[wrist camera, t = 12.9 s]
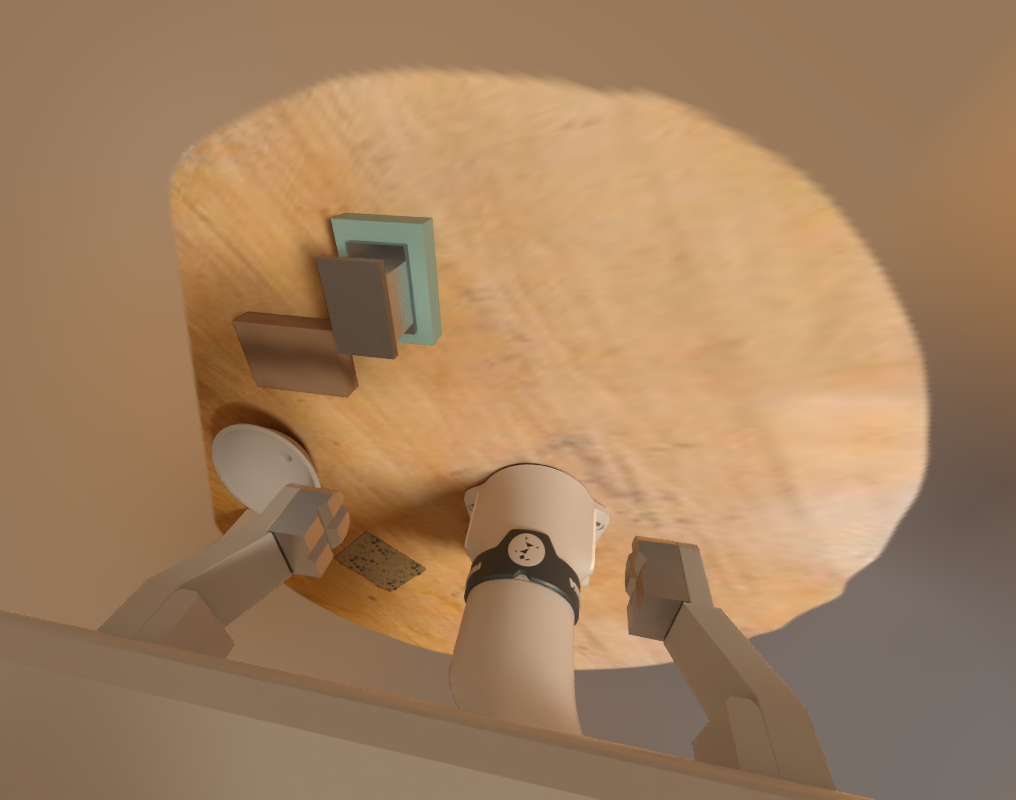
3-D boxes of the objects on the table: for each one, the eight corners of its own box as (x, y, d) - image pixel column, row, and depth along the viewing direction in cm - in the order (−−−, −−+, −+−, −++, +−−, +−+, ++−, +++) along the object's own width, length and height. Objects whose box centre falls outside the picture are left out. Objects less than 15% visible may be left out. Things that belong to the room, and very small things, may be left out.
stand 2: (441, 334, 41) (433, 345, 39) (367, 327, 42) (356, 338, 40) (432, 218, 35) (422, 224, 33) (345, 212, 36) (330, 218, 34)
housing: (407, 243, 34) (378, 262, 30) (417, 331, 39) (394, 359, 34) (351, 240, 35) (315, 258, 30) (368, 326, 39) (338, 353, 35)
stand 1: (358, 385, 47) (347, 397, 45) (271, 375, 48) (257, 386, 46) (343, 320, 43) (331, 331, 40) (248, 311, 44) (231, 321, 42)
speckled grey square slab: (366, 527, 63) (363, 532, 63) (428, 566, 67) (426, 572, 66) (333, 555, 70) (330, 560, 69) (392, 590, 73) (389, 595, 72)
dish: (231, 385, 51) (199, 408, 47) (342, 421, 51) (320, 447, 47) (246, 478, 61) (222, 503, 57) (339, 508, 61) (320, 535, 57)
